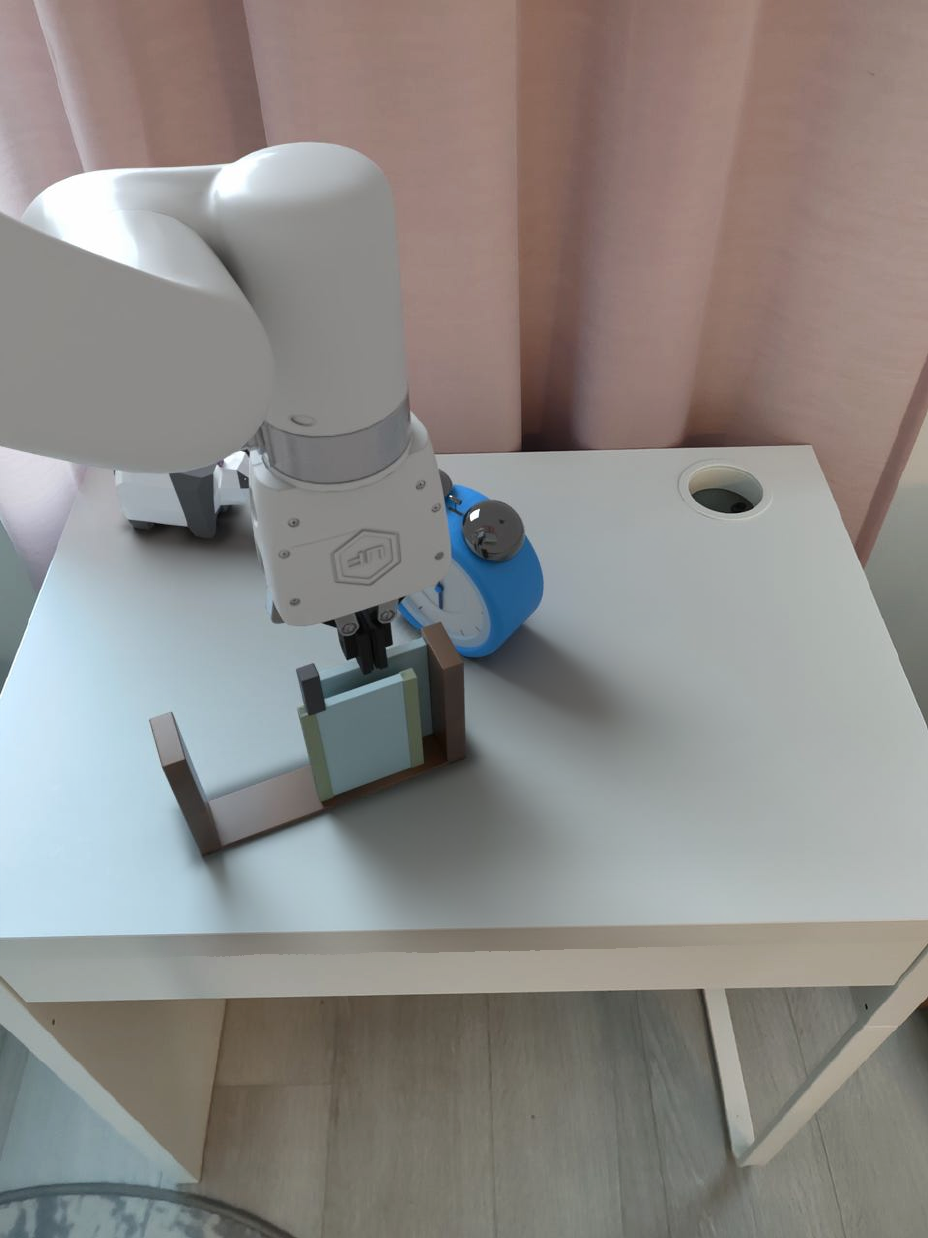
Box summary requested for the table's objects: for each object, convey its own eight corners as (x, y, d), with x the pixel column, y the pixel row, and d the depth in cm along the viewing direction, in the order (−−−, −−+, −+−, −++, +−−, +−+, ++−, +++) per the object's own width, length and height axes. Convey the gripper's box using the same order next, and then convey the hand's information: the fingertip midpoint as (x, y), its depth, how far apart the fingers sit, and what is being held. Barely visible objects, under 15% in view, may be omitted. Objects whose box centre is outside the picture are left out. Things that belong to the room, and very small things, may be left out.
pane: (321, 804, 71) (293, 685, 61) (316, 790, 72) (287, 670, 61) (425, 765, 73) (415, 643, 63) (419, 753, 74) (408, 630, 63)
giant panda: (122, 538, 92) (92, 457, 84) (145, 498, 95) (118, 417, 88) (275, 557, 90) (257, 476, 83) (293, 516, 93) (277, 434, 86)
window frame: (205, 865, 70) (161, 767, 60) (192, 819, 72) (148, 718, 63) (466, 766, 75) (464, 662, 65) (445, 726, 77) (440, 620, 68)
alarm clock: (377, 612, 85) (361, 478, 74) (423, 571, 88) (415, 436, 77) (498, 687, 80) (501, 555, 68) (543, 640, 83) (553, 506, 72)
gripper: (201, 510, 45) (269, 741, 58) (505, 423, 48) (501, 660, 62) (165, 415, 49) (236, 651, 63) (445, 342, 53) (454, 580, 67)
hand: (367, 655), depth 62 cm, fingers closed
